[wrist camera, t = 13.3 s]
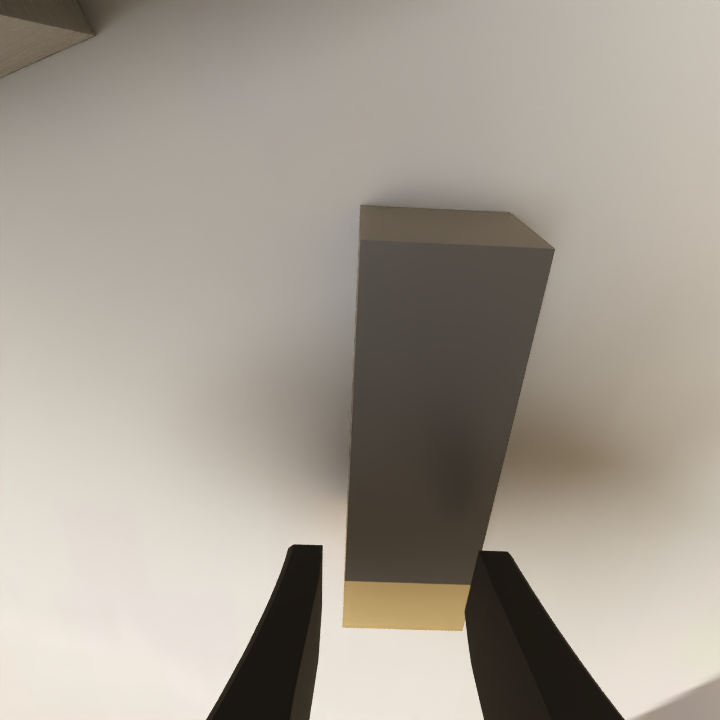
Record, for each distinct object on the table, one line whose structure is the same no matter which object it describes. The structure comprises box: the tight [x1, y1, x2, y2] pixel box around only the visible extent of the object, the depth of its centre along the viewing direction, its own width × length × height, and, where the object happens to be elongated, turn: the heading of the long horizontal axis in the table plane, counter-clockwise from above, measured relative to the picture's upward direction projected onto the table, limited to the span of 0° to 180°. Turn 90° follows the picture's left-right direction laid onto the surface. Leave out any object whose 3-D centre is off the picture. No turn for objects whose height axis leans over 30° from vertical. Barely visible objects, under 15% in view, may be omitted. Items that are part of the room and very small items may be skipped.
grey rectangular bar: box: [343, 205, 555, 631], centre depth 12 cm, size 11×3×3 cm, turn 177°
